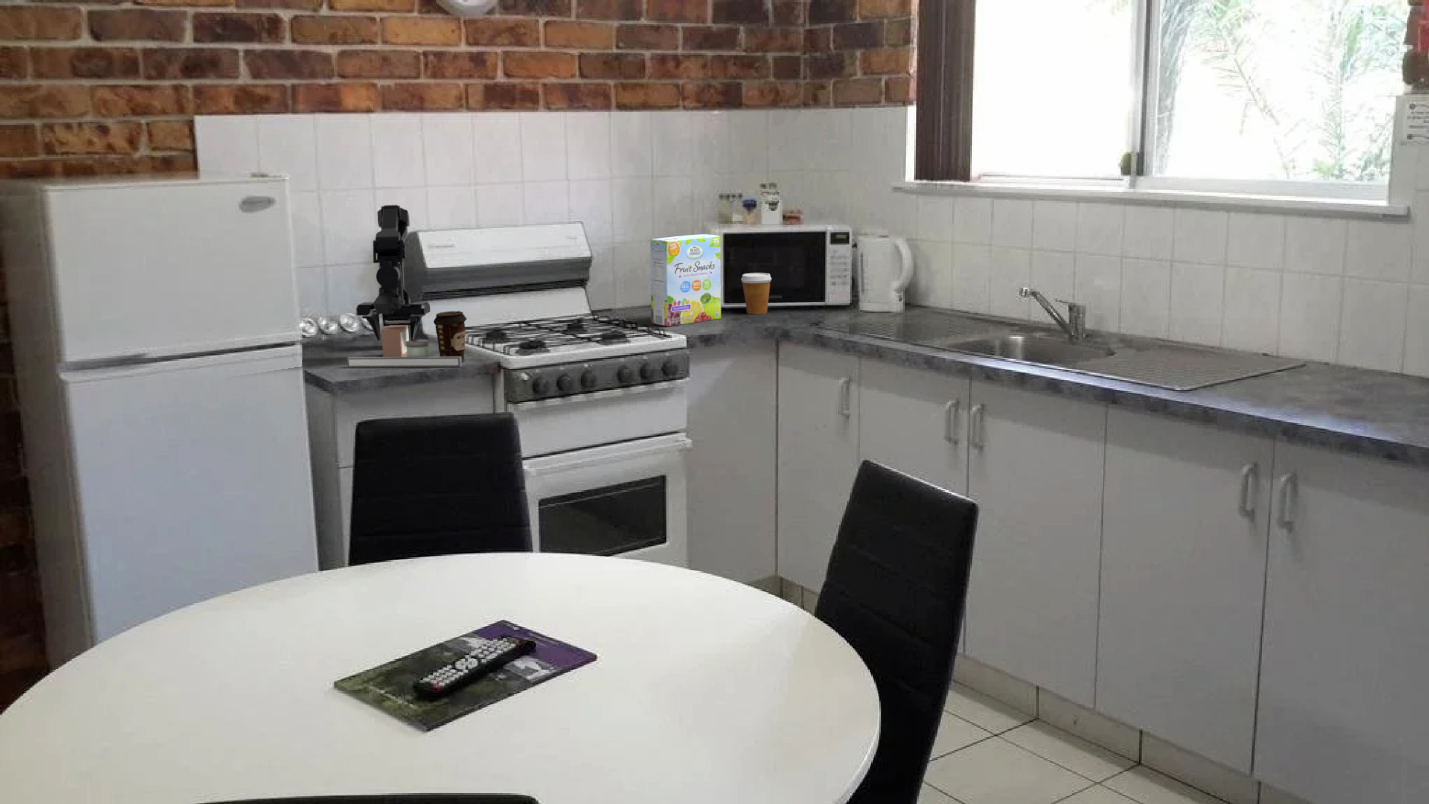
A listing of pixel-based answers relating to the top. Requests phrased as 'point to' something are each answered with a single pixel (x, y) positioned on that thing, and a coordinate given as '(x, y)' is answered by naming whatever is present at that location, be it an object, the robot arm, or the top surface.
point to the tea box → (395, 340)
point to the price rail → (405, 361)
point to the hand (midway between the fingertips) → (395, 340)
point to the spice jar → (417, 348)
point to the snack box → (685, 279)
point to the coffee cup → (451, 333)
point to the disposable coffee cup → (756, 292)
